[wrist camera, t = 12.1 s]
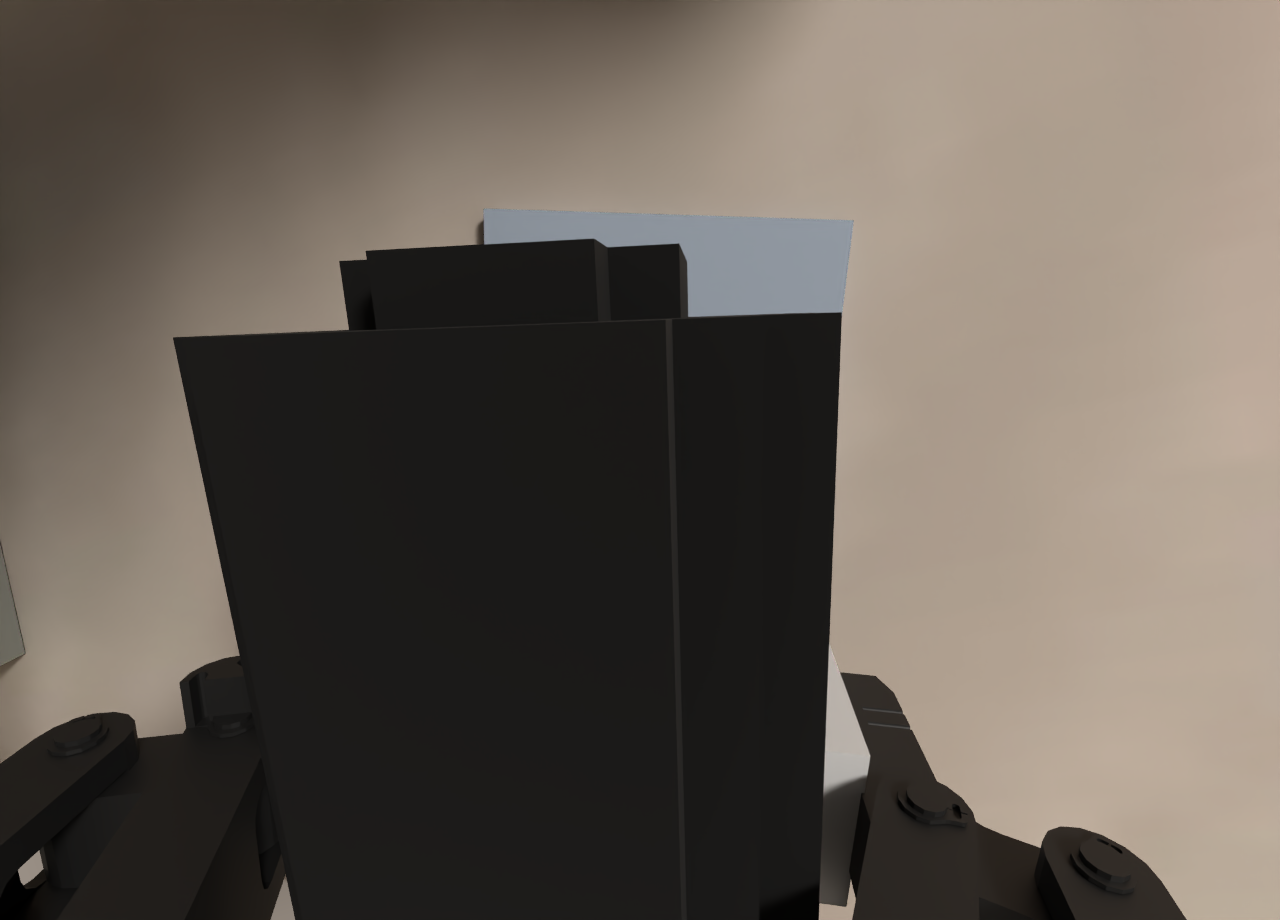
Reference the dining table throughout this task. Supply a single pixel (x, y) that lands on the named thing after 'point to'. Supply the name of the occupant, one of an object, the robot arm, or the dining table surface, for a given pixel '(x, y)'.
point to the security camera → (531, 587)
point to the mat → (713, 254)
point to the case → (8, 620)
